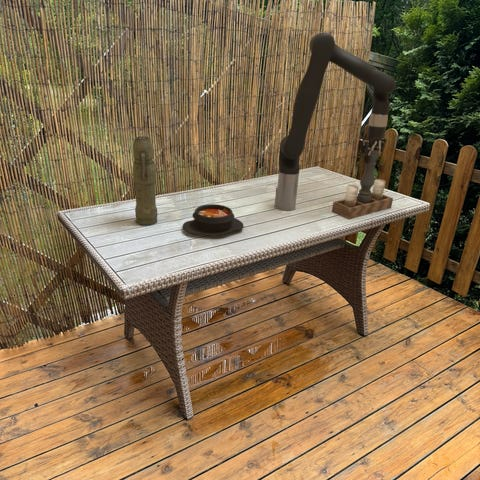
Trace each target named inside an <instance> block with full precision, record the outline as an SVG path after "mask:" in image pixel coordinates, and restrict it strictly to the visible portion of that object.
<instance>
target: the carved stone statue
mask: <svg viewBox="0 0 480 480" xmlns="http://www.w3.org/2000/svg"><path fill="white" fill-rule="evenodd" d="M132 156H133V157H132V158H133V159H134V160H133V166H132V180H133V183H134V189H135V190H134V191H135V193H134V194H135V208H134V211H135V219H136V220H135V222H136V224H137V225H139V226H142V227H145V226H146V227H148V226H154V225H156V224H157V223H158V208H157V202H156V201H157V200H156V182H157V180H156V179H157V177H156V176H157V175H156V172H157V171H156V166H155V163H154V146H153V143H152V140H151V138H150V137H147V136H137V137H135V138H134V140H133V143H132Z"/></svg>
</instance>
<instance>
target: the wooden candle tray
mask: <svg viewBox="0 0 480 480" xmlns="http://www.w3.org/2000/svg"><path fill="white" fill-rule="evenodd" d="M386 182H387V181H386V180H384V179H380V178H377V179H374V184H373V186H372V191H371V194H370V195H371V201H370V203H367V204H363V203H361V202H359V201H357V196H358V193H359V186H357V185H355V184H348V185H346V191H345V197H344V199H339V200H338V199H337V200H335V201H333V202H332V208H331V212H332V213H334V214H336V215H338V216H341V217H342V218H344V219H347V220H352V219H355V218H359V217H362V216H367V215H371V214H374V213H377V212H381V211H385V210H389V209H391V208H392V205H393V201H394V198H393V197H391V196H388V195H386V194H384V191H385V187H386V186H385V185H386Z"/></svg>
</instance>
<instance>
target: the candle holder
mask: <svg viewBox="0 0 480 480" xmlns="http://www.w3.org/2000/svg"><path fill="white" fill-rule="evenodd" d="M379 151H380V150H379V149H375V148H374V149H373V151H371V153H370V155H369V156H370V158H369V163H368V164H366V163H364V165H365V167H364V172H363V174H362V177H361V179H360V181H359V184H360V189H358V193H357V201H359V202H361V203H363V204H367V203H370V201H371V195H370V194H371V193H372V190H371V189H372V188H373V186H374V181H375V179H374V178H375V177H374V169H375V167H376V165H377V162H375V161H376V159H377V157H378V156H379V157H380V154H379ZM368 152H369V150H368Z"/></svg>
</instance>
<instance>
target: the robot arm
mask: <svg viewBox="0 0 480 480" xmlns="http://www.w3.org/2000/svg"><path fill="white" fill-rule="evenodd" d="M309 51H310V52H311V53H310V58H309V62H308V66H307V69H306V72H305V73H304V75H303V77H302V80H301V82H300V84H299V86H298V88H297V91H296V95H295V97H294V101H293V102H294V103H293V106H292V107H293V109H292V116H291V118H292V120H291V126H290V129H289V132H288V135H286V136H284V137H283V138H282V140H281V142H280V144H279V155H278V176H277V177H278V179H277V187H275V196H274V197H275V199H274V208H276V209H278V210H280V211H286V212H287V211H293V210H295V209H296V205H297V197H298V196H297V195H298V186H299V176H300V169H301V168H300V156H301V155H302V154H303V152H304V147H305V143H306V138H307V133H308V129H309V127H310V124H311V122H312V118H313V116H314V112H315V109H316V108H317V107H316V106H317V102H318V100H319V97H320V93H321V89H322V86H323V83H324V78H325V74H326V70H327V69H328V65H329V63H332V64H334V65H336V66H337V67H340V68H341V69H342V70H343V71H346V72H347V73H349V74H350V75H351V76H353V77H354V78H356V79H358V80H359V81H361V82H363V83H365V84H367V85H369V86H371V87H372V88H373V93H372V94H373V95H372V98H373V99H372V100H373V102H372V108H371V112H370V117H369V120H368V127H367V132H366V135H367V139H365V140H362V141H361V154H363V155H364V156H363V157H364V158H363V163H364V164H365V163H366V164H368V163H369V158H370V156H369V155H370V153H371V151H373V149H374V148H375V149H379V150H380V151H379V156H378V157H377V159H376V161H375V162H376V163H377V162H378V161H379V157H380V154H381V153H383V152H384V149H385V146H386V143H387V140H388V139H387V138H384V136H385V135H386V131H387V130H386V129H387V124H388V119H389V111H390V105H391V104H390V103H391V101H390V100H389V98H390V97H389V95H390V94H391V93H393V92H394V91H395V89H396V87H397V82H396V80H395V78H394V77H393V76H391V75H390V74H388V73H385V72H384V71H382V70H379V69H377V68H376V67H375V66H374V65H373V64H370V62H367V61H366V60H364V59H362V58H360V57H359V56H357V55H355V54H352V53H351V52H349V51H347V50H345V49H343V48H341V47H340V46H339V45H337V43H336V40H335V38H334V36H333V35H332V34H331V33H328V32H319V33H317V34H315V35H314V36H313V37H311V39H310V41H309ZM368 150H369V152H368Z"/></svg>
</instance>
